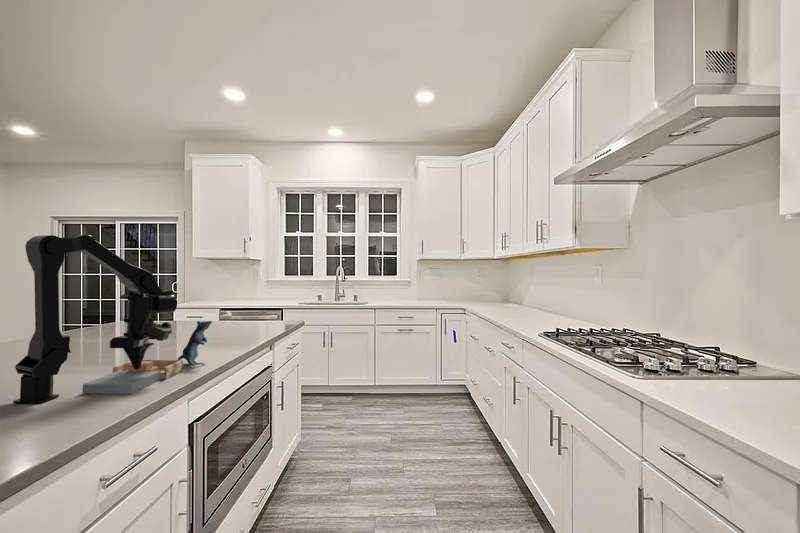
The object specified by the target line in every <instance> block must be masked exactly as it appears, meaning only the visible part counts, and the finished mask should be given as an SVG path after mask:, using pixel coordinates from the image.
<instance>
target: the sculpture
mask: <svg viewBox="0 0 800 533" xmlns="http://www.w3.org/2000/svg"><path fill="white" fill-rule="evenodd" d="M196 324H197V325H196V328H195V330H194V331H193V332H192V333H191V335H190V338H189V340H188V343H187V344H186V346H185V347H184V348H183V350H182V354H181V355H179V357H178V358H176V360H183V359H185V360H186V361H187V363H183V366H184V367H189V366H196V365H205V364H206V363H205V362H198V361H195V360H196V359H197V358H198V356H199V350H198V346H200V345H205V343H208V339H207V338H206V336H205V334H204V332H205V331H206V330H208V329H209V328H210V326H211V325H212V324H213V322H212V321H211V320H210V321H209V320H208V321H205V320H203V321H202V322H201V321H199V320H197V322H196Z"/></svg>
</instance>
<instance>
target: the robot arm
mask: <svg viewBox="0 0 800 533" xmlns="http://www.w3.org/2000/svg"><path fill="white" fill-rule="evenodd" d="M24 248H25V252H26V256H27V261H28V263H29V265H30V267H31V269H32V271H33V273H34V275H33V276H34V318H35V319H34V321H35V322H34V323H35V324H34V325H35V326H34V328H35V329H34V333H33V335H32V337H31V339H30V340H29V345H28V350H27V355H25V356H24V357H23V358H22V359H20V361H19V362H17V363H16V364H15V366H14V368H15V371H16V373H17V374H18V375H22V376H21V377H20V387H19V388H20V390H19V391H20V392H19V398H17V399H15V400H13V401H12V404H42V403H45V402H47V401H50V400H53V399H55V398H57V397H59V396H60V395H59V393H58V394H57V393H54V376H55V375H58V373H59V372H60V369H61V367H62V365H63V364H64V363H65V362H66V361H67V360H68V357H69V354H71V353H72V351H71V349H70V343H71V336H68V335H63V334H62V332H61V330H60V305H59V303H60V301H59V300H60V298H59V296H60V295H59V294H60V293H59V292H60V290H59V288H60V286H59V272H60V269H61V268H62V266H63V263H64V261H65V256H66V254H68V253H74V252H81V253H82V254H83V255H85V256H87V257H88V258H90V259H91V260H93V261H94V262H96V263H97V264H98V265H100V266H102V267H103V268H105V269H106V270H107V271H109V272H111V273H112V274H114V276H116V277H117V279H118V280H119V282H120V283H121V284H122V285H123V286H124V287H125V288H126V289H128V290H126V291H125V293H124V294H121V296H120V297H119V299H120V300H127V315H126V316H127V317H126V318H124V319H123V323H126V332H123V335H119V336H115V337H112V338H111V340H109V348H110V349H123V351H124V352H125V354H126V356H127V357H128V359H129V361H131V363H132V365H133V367H134V369H139V368H140V366H141V363H142V360H144V357H145V354H146V352H147V349H149V348H150V347H151V346H153V345H154V344H155V343H154V342H150V340H156V341H159V342H163V341H165V340H168V338H169V335H170V334H172V333H173V331H172V329H173V328H172V325H171V323H170V322H167V321H166V322H162V323H161V324H160V323H155V319H154V317H151V314H168V313H169V314H171V313H174V312H176V310H177V307H178V301H177V297H176V296H175V295H174V291H173V290H162V289H161V288H160V286H159V284H158V283H157V282H156V280H155V275H154V274H153V272H150V271H148V270H146V269H144V268H141V267H138V266H136V265H133V264H131V263H129V262H127V261H126V260H124V259H123V258H121V257H120V256H119V255H118V254H116V253H114V252H113V251H111V250H110V249H109V248H107V247H106V246H104V245H103V244H102V243H100V242H99V241H97V240H96V239H95V238H94V237H93V236H92V235H90V234H77V235H74V236H65V237H59V236H57V235H53V234H51V235H35V236H33V237H31V238H30V239H28V240H26V243H25V247H24ZM133 291H134V292H133ZM146 295H147V296H146ZM53 393H54V394H53Z"/></svg>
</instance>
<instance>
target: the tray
mask: <svg viewBox="0 0 800 533" xmlns="http://www.w3.org/2000/svg"><path fill="white" fill-rule="evenodd" d="M142 361H153V367H158V371H160V380H161V381H163V380H164V381H166V380H168V379H170V378H172V377H173V376H174V377H175V376H176V375H178V374H180V373H182V372H183V366H184V365H183V364H184V360H183V359H181V360H177V359H143V360H142ZM128 364H131V361H130V360H129V361H126V362H124V363H121V364H119V365H116V366H113V367H112V373H114V372H116V371H128ZM160 380H159V381H160Z"/></svg>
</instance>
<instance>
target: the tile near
mask: <svg viewBox="0 0 800 533" xmlns="http://www.w3.org/2000/svg"><path fill="white" fill-rule="evenodd" d="M152 368H153V361H142V363H141V366H140V368H139V369H134V367H133V365H132V363H131V364H128V372H135V371H148V370H150V369H152Z"/></svg>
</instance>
